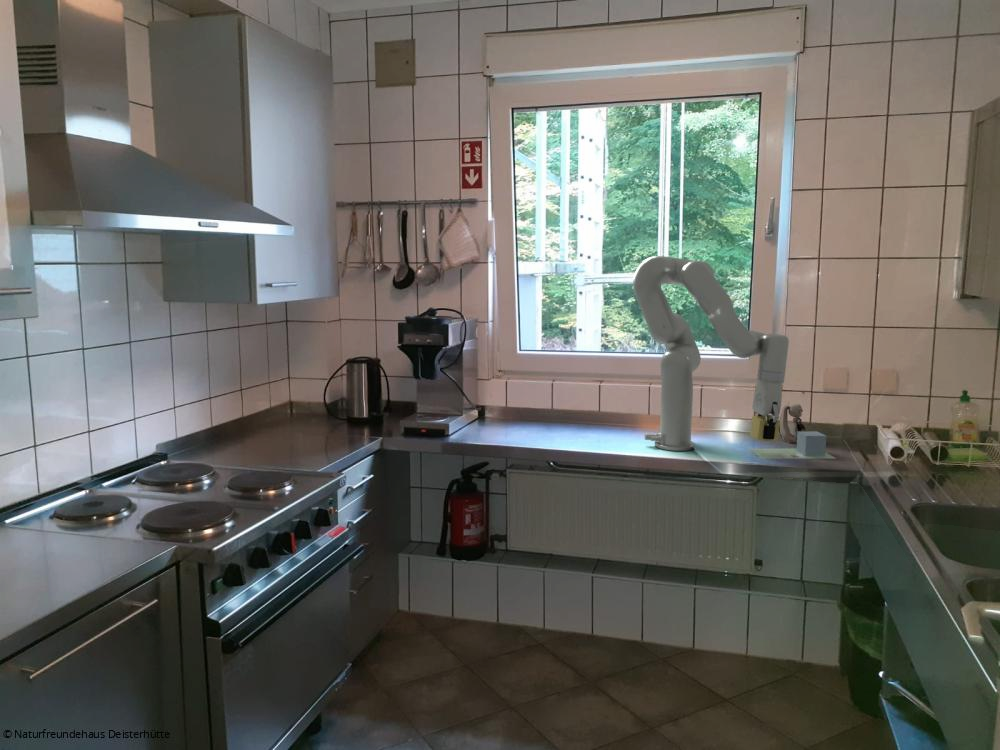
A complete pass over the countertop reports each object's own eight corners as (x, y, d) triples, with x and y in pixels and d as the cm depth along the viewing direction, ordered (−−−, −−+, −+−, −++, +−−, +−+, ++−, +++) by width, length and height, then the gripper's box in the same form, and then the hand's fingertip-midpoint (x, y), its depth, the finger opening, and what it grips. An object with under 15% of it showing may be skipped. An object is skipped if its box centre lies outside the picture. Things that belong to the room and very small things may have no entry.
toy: (814, 446, 242) (801, 400, 241) (786, 452, 244) (774, 407, 243) (808, 439, 251) (797, 395, 250) (782, 446, 253) (770, 402, 252)
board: (761, 462, 224) (762, 458, 224) (746, 452, 236) (747, 448, 236) (836, 462, 225) (836, 457, 225) (817, 452, 237) (817, 447, 237)
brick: (757, 440, 227) (759, 420, 226) (750, 435, 233) (752, 415, 232) (777, 441, 227) (779, 421, 226) (769, 436, 233) (771, 416, 232)
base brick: (805, 455, 227) (806, 435, 227) (796, 450, 233) (797, 431, 232) (825, 455, 228) (826, 435, 227) (815, 450, 234) (817, 431, 233)
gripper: (747, 370, 235) (741, 428, 238) (769, 381, 218) (762, 443, 221) (771, 372, 235) (765, 429, 238) (795, 382, 218) (788, 444, 221)
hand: (763, 435), depth 230 cm, fingers closed on brick, 6 cm apart
